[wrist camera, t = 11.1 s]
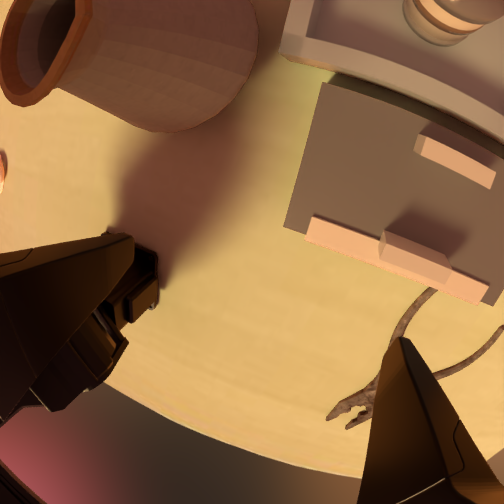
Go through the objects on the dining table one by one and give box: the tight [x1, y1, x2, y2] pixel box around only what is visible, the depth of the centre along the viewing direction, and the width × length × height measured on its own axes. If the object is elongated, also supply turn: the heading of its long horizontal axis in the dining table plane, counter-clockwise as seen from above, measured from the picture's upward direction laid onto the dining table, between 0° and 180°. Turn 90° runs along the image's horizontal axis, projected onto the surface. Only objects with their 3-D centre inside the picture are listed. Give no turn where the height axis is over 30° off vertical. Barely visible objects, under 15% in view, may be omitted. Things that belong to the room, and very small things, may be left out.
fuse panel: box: [283, 82, 504, 306], centre depth 15 cm, size 16×9×4 cm, turn 78°
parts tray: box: [278, 0, 504, 146], centre depth 10 cm, size 16×12×3 cm
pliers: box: [326, 287, 504, 430], centre depth 23 cm, size 10×1×20 cm
